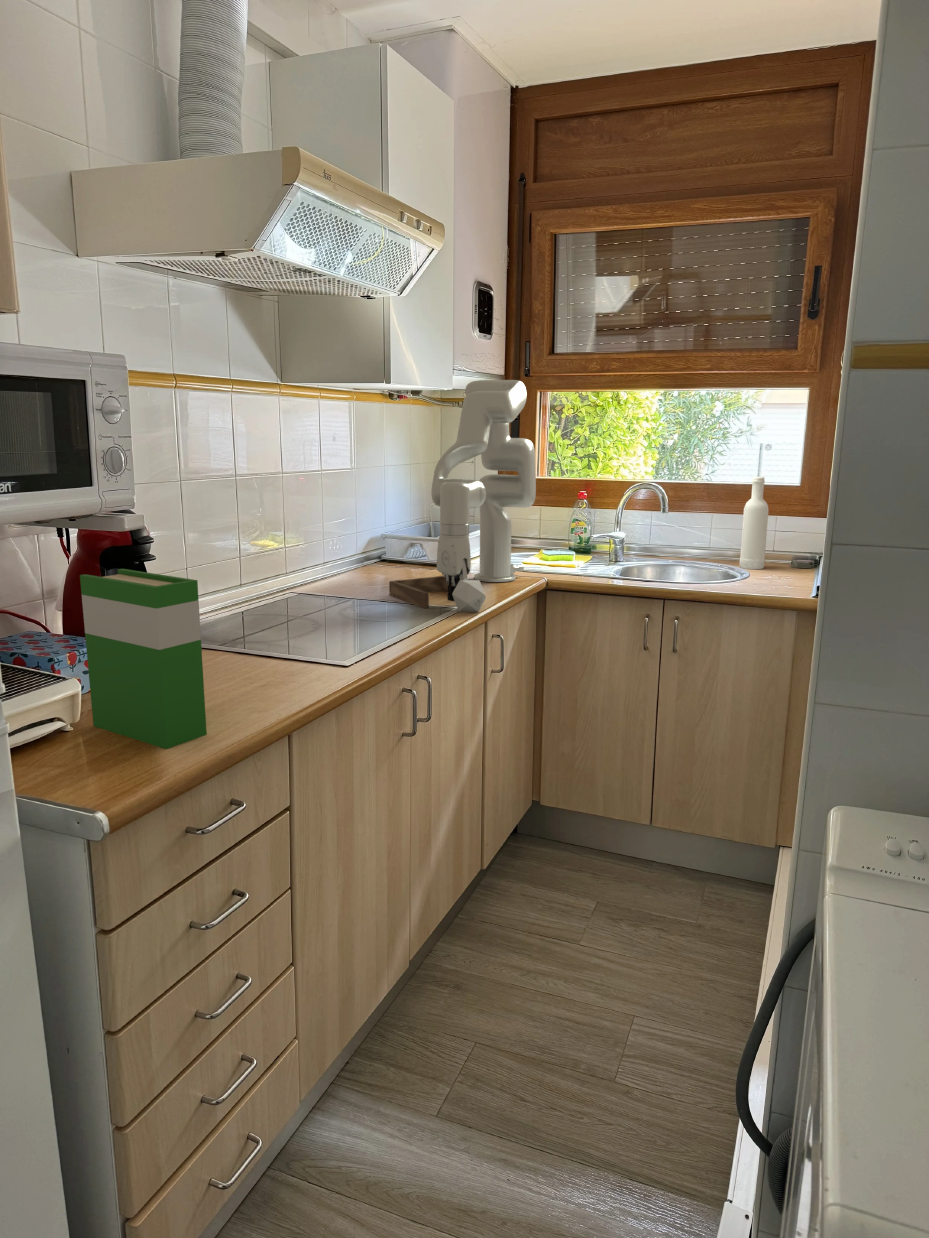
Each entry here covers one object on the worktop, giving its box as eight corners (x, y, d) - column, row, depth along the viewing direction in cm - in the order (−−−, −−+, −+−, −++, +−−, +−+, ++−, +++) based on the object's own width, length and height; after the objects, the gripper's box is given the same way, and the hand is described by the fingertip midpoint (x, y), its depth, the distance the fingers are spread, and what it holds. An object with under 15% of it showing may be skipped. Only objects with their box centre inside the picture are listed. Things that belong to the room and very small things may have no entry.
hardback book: (93, 725, 138) (79, 575, 133) (133, 713, 144) (122, 568, 139) (166, 749, 128) (155, 587, 123) (206, 734, 134) (197, 580, 129)
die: (471, 618, 218) (493, 586, 219) (442, 600, 219) (464, 568, 220) (473, 623, 226) (494, 592, 227) (446, 605, 227) (466, 574, 228)
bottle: (746, 565, 299) (753, 476, 293) (768, 567, 294) (775, 477, 287) (734, 567, 293) (741, 476, 287) (757, 570, 288) (764, 478, 282)
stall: (443, 589, 251) (443, 575, 251) (481, 601, 235) (481, 587, 234) (389, 595, 243) (389, 581, 242) (424, 608, 226) (424, 593, 225)
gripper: (427, 528, 230) (427, 596, 234) (457, 534, 218) (457, 606, 222) (451, 526, 234) (451, 594, 238) (482, 532, 222) (482, 603, 226)
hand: (454, 600), depth 230 cm, fingers closed
